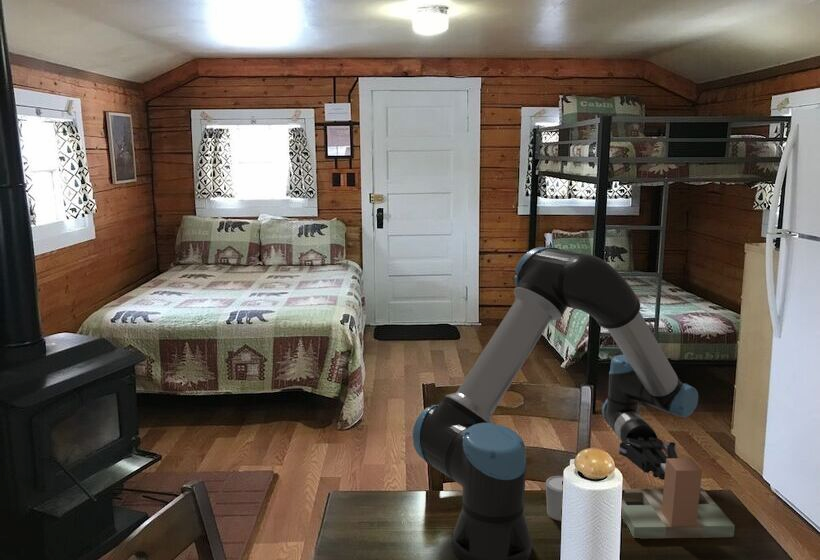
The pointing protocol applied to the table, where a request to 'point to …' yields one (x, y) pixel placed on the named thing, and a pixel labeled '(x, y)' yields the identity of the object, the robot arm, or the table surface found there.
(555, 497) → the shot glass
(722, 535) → the board
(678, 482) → the block
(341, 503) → the table surface
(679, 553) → the table surface
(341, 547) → the table surface
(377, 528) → the table surface
